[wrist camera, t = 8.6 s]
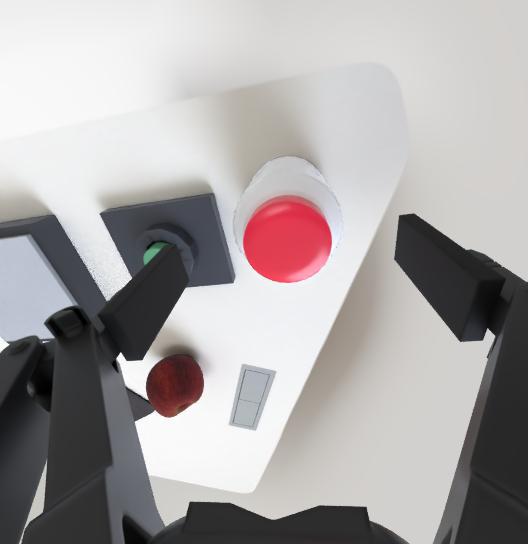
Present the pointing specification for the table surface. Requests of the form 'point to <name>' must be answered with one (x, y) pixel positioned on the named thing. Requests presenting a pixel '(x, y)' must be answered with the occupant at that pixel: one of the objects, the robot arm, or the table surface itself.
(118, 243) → the button base
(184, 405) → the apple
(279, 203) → the pill bottle
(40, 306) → the scale
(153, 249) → the green button
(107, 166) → the table surface
